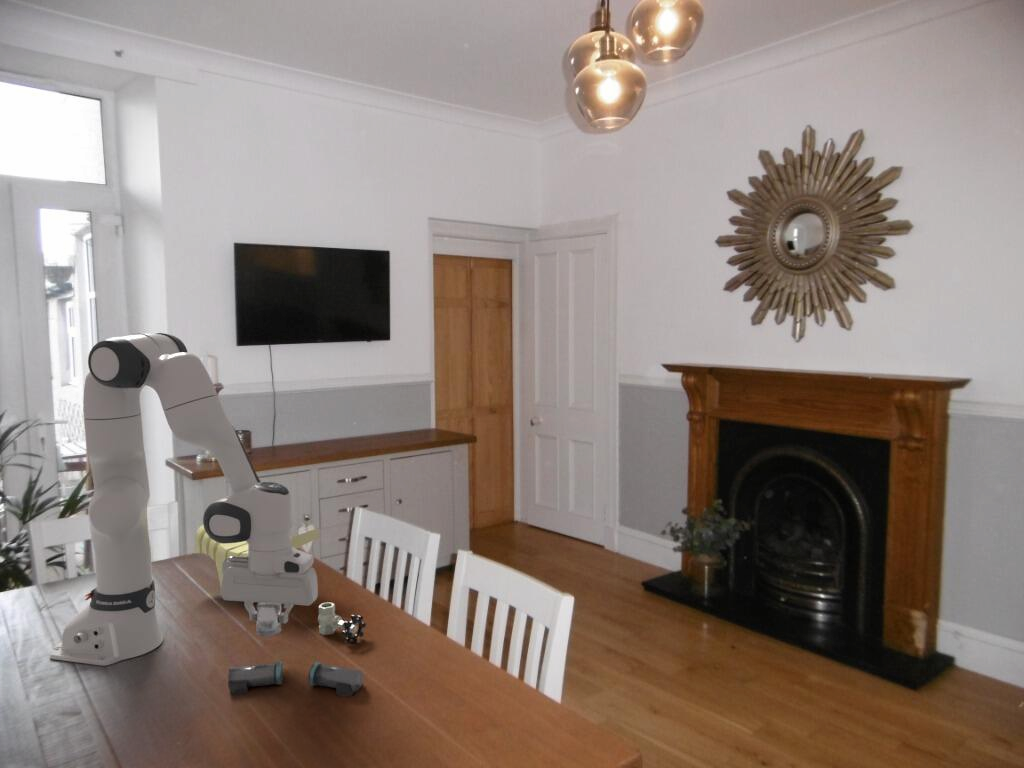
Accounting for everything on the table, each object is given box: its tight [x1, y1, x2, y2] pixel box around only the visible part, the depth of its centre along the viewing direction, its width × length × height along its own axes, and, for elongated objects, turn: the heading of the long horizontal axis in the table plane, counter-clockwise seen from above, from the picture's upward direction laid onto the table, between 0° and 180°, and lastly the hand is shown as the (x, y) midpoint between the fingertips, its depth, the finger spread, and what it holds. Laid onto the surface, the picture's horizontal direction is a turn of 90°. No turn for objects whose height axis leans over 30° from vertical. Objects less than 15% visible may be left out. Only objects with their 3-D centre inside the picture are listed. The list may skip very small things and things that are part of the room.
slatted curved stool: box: [194, 524, 319, 589], centre depth 195 cm, size 30×16×18 cm, turn 60°
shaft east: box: [307, 661, 364, 698], centre depth 146 cm, size 10×5×4 cm, turn 73°
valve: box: [317, 601, 367, 644], centre depth 169 cm, size 7×7×12 cm
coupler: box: [255, 602, 282, 637], centre depth 155 cm, size 5×5×6 cm
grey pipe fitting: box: [227, 661, 284, 696], centre depth 146 cm, size 10×5×4 cm, turn 103°
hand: (268, 621), depth 155 cm, fingers closed on coupler, 5 cm apart
